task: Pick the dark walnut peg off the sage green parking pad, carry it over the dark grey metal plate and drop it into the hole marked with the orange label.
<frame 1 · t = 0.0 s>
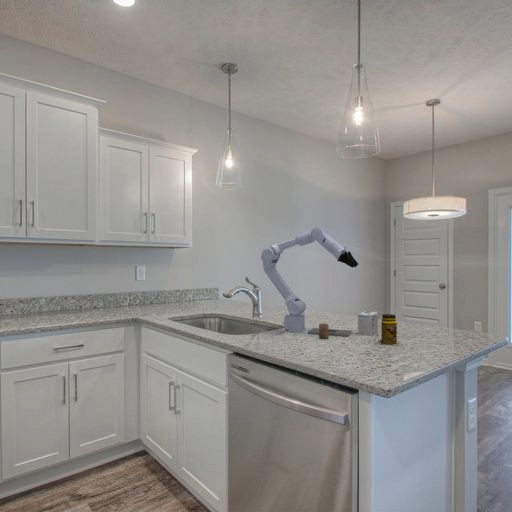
hand: (355, 265, 167), 32 cm above the worktop, tool tilted 50°, fingers open, 7 cm apart
light bulb box: (368, 336, 171), on the worktop
hole plate: (330, 336, 171), on the worktop
peg: (323, 338, 160), point 1 cm above the worktop, touching parking pad
condiment: (387, 343, 157), on the worktop
parking pad: (323, 341, 160), on the worktop
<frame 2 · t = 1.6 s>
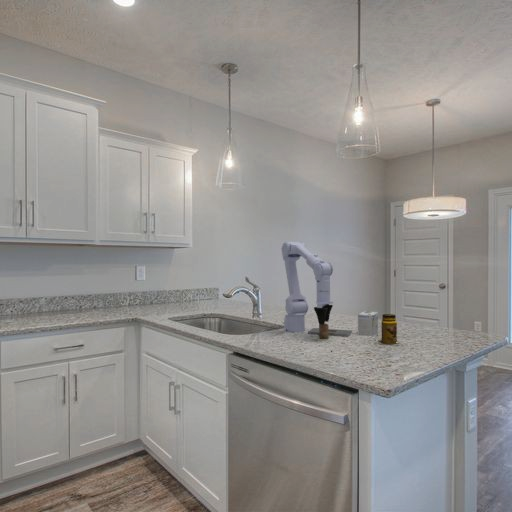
hand: (323, 322, 160), 8 cm above the worktop, tool pointing down, fingers open, 7 cm apart
nothing on the worktop moved.
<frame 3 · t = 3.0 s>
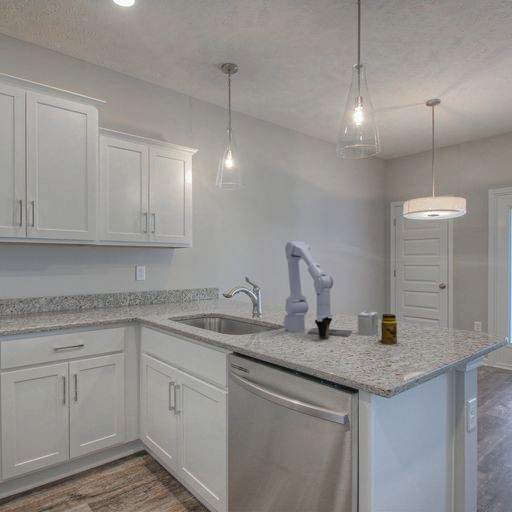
hand: (323, 335, 160), 3 cm above the worktop, tool pointing down, fingers closed on peg, 4 cm apart
peg: (323, 338, 160), point 1 cm above the worktop, touching gripper, parking pad
everything else where it was.
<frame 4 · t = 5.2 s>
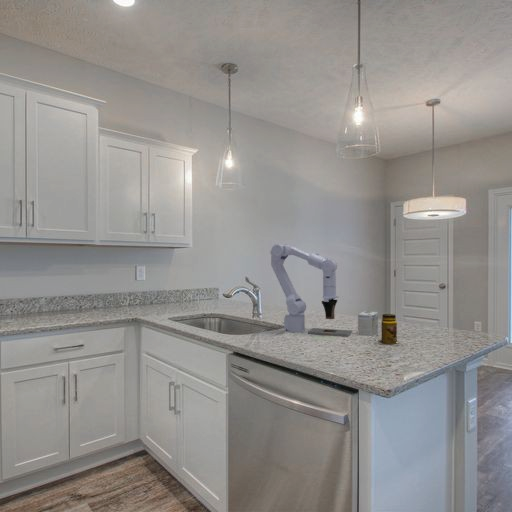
hand: (329, 316, 171), 9 cm above the worktop, tool pointing down, fingers closed on peg, 4 cm apart
peg: (330, 318, 171), point 8 cm above the worktop, touching gripper
everything else where it was.
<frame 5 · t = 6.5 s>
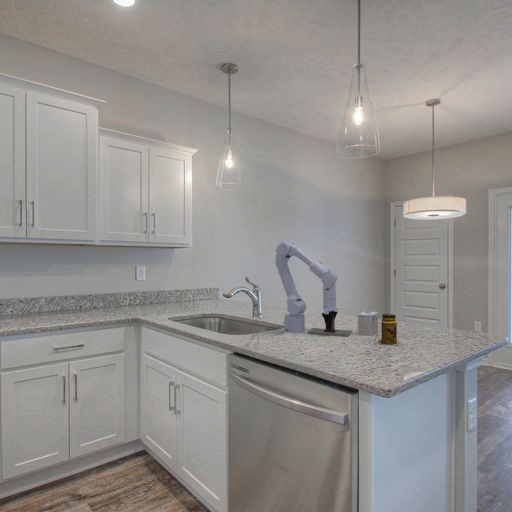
hand: (329, 328, 171), 4 cm above the worktop, tool pointing down, fingers closed on peg, 4 cm apart
peg: (330, 330, 171), point 3 cm above the worktop, touching gripper
everything else where it was.
when the fingers open (4 cm above the worktop, at t = 7.3 s): peg drops 3 cm, resting in hole plate.
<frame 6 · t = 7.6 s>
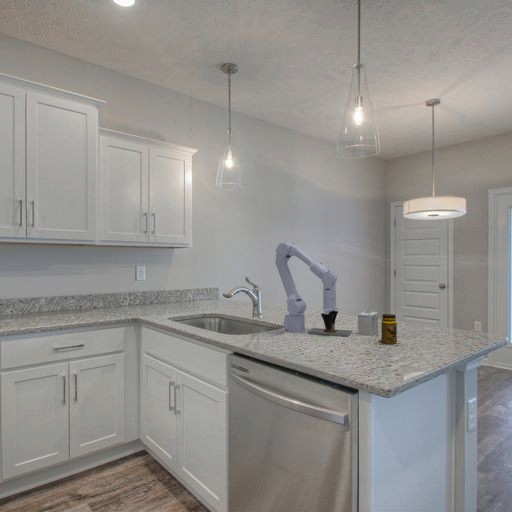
hand: (329, 328, 171), 4 cm above the worktop, tool pointing down, fingers open, 7 cm apart
peg: (330, 336, 171), resting in hole plate
everything else where it was.
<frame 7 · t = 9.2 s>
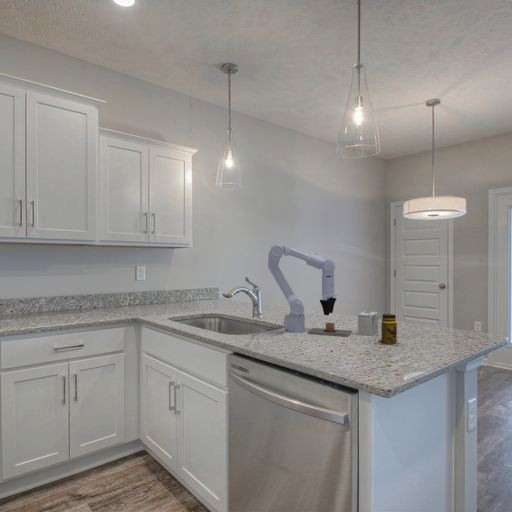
hand: (328, 314, 177), 9 cm above the worktop, tool pointing down, fingers open, 7 cm apart
nothing on the worktop moved.
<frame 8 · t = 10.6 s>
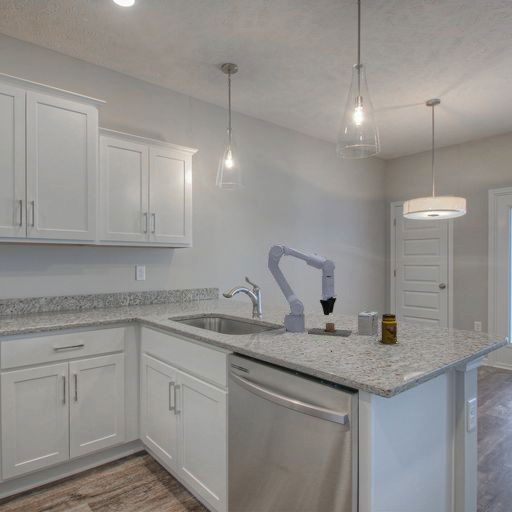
hand: (328, 314, 177), 9 cm above the worktop, tool pointing down, fingers open, 7 cm apart
nothing on the worktop moved.
at the end: peg 0.1 cm off-centre on the hole plate, point 0.0 cm above the hole plate's base; peg tilted 0°; the gripper is holding nothing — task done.
